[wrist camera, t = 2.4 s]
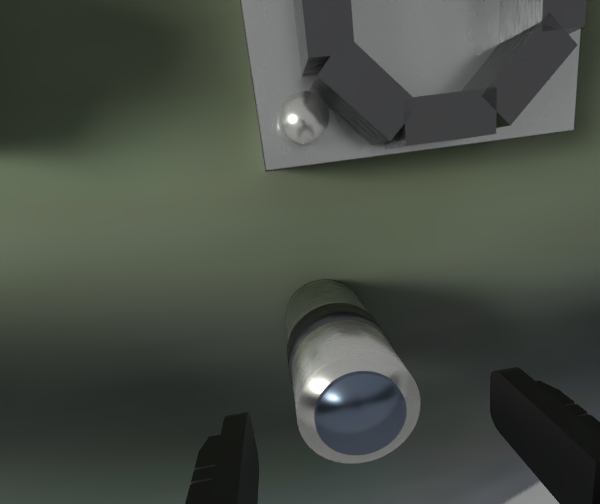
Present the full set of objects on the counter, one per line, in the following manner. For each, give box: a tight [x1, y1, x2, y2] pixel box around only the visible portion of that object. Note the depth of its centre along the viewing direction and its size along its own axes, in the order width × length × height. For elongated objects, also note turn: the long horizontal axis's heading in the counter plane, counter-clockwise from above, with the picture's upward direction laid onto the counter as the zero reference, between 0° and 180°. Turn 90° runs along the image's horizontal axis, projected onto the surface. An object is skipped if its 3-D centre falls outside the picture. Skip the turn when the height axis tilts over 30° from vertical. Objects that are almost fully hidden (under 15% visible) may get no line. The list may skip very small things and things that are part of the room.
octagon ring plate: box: [240, 0, 587, 171], centre depth 13 cm, size 12×9×7 cm
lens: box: [286, 279, 421, 464], centre depth 16 cm, size 5×5×8 cm
